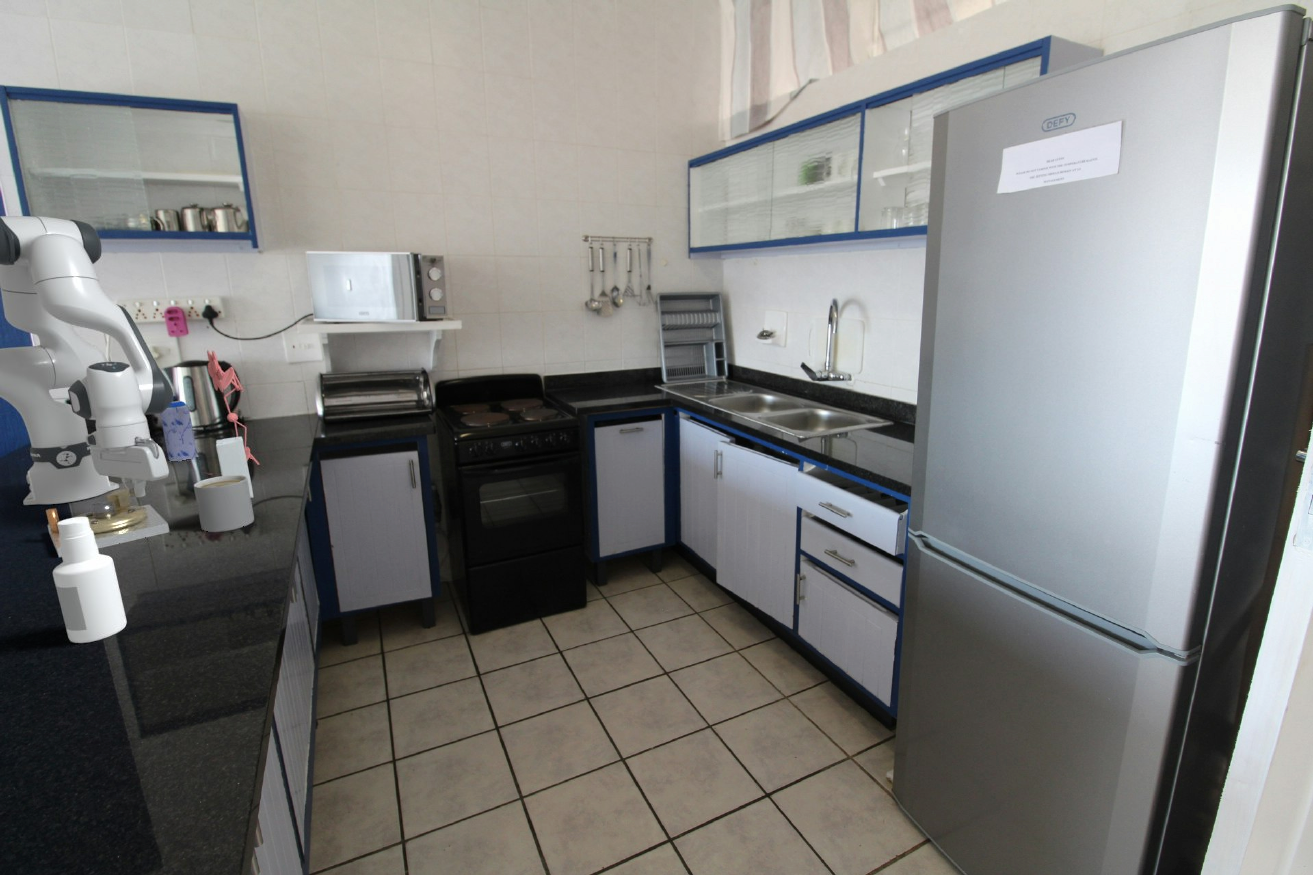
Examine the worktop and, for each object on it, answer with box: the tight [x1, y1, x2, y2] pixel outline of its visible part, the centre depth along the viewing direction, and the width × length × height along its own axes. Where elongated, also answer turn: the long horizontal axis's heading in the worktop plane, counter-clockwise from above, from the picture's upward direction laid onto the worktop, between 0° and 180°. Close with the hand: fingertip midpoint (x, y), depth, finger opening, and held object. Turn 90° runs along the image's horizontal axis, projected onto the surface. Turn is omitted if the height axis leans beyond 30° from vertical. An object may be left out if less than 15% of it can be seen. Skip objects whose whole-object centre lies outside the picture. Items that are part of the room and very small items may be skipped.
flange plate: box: [72, 488, 147, 533], centre depth 142 cm, size 16×14×5 cm
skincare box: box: [215, 436, 254, 499], centre depth 165 cm, size 8×6×15 cm
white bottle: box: [52, 516, 128, 644], centre depth 97 cm, size 7×7×18 cm
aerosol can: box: [159, 395, 199, 462], centre depth 205 cm, size 8×8×20 cm
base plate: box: [45, 504, 170, 558], centre depth 141 cm, size 20×18×7 cm
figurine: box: [201, 350, 260, 475], centre depth 192 cm, size 15×26×35 cm, turn 42°
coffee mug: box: [193, 475, 255, 533], centre depth 146 cm, size 13×10×10 cm
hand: (137, 496), depth 146 cm, fingers closed
